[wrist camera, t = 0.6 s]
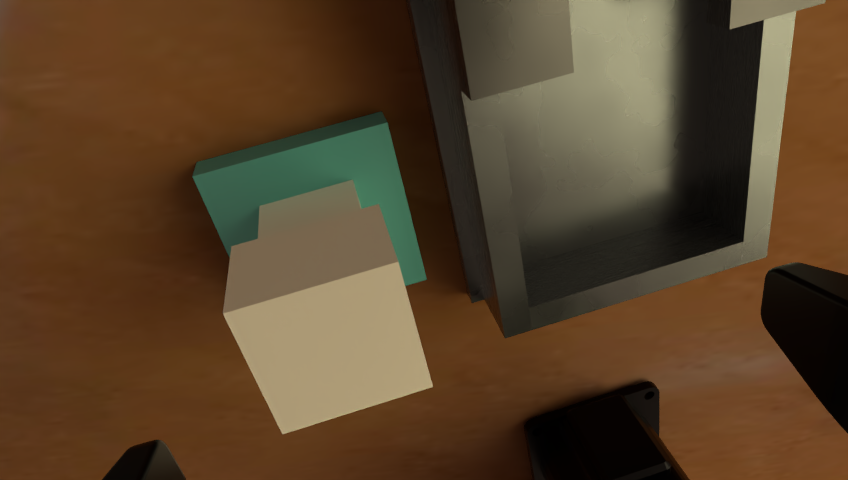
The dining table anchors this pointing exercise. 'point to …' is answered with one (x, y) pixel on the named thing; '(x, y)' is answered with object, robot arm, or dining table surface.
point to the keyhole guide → (603, 143)
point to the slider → (320, 269)
